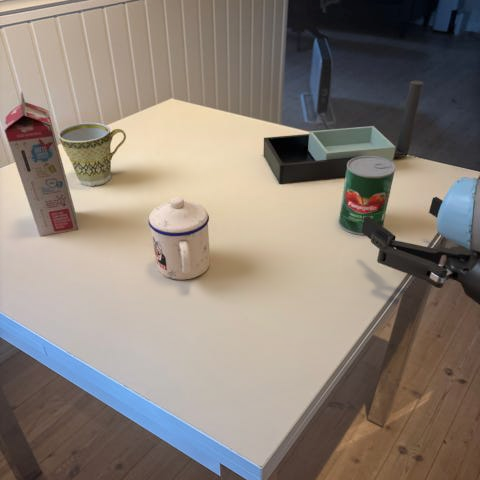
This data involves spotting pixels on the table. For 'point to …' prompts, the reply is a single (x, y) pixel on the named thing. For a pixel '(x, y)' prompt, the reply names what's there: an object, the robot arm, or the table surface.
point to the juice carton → (40, 168)
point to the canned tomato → (365, 192)
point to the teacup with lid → (180, 238)
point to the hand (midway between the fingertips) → (399, 214)
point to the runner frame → (299, 161)
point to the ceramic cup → (90, 151)
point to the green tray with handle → (367, 136)
